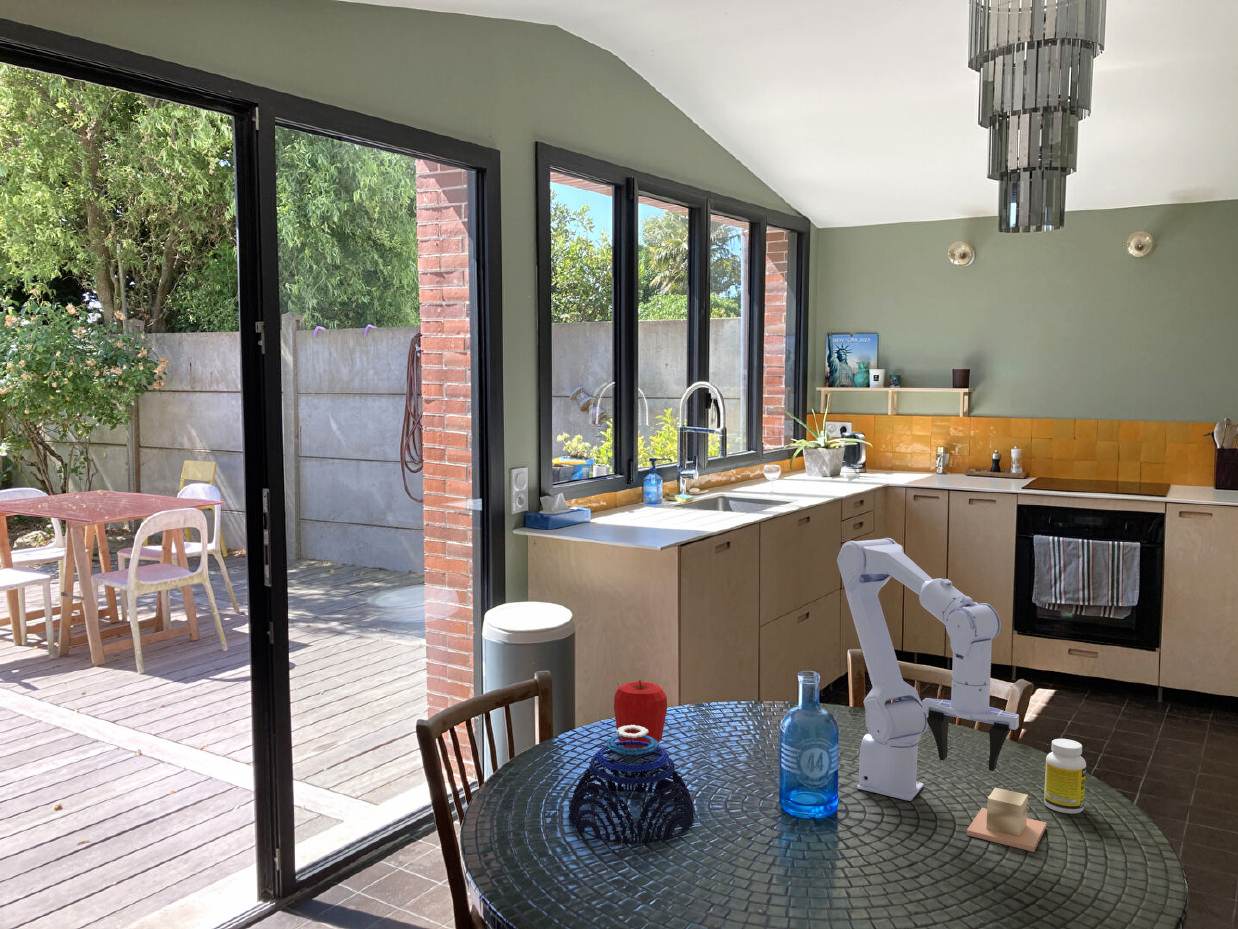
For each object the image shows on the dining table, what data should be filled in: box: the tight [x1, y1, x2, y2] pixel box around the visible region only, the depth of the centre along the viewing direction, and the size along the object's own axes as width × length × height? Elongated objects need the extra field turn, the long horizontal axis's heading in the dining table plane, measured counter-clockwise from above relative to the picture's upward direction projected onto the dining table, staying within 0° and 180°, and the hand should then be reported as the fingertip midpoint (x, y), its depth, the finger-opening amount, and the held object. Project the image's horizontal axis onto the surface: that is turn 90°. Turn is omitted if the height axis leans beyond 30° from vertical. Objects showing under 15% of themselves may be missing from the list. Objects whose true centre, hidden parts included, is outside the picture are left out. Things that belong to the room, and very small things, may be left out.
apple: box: [613, 679, 668, 748], centre depth 191 cm, size 11×10×14 cm
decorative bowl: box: [568, 725, 695, 845], centre depth 162 cm, size 20×20×14 cm
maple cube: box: [986, 787, 1029, 837], centre depth 157 cm, size 5×5×5 cm
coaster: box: [966, 807, 1047, 853], centre depth 158 cm, size 10×10×1 cm
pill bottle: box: [1043, 738, 1087, 815], centre depth 167 cm, size 6×6×11 cm
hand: (967, 763), depth 158 cm, fingers open, 7 cm apart
